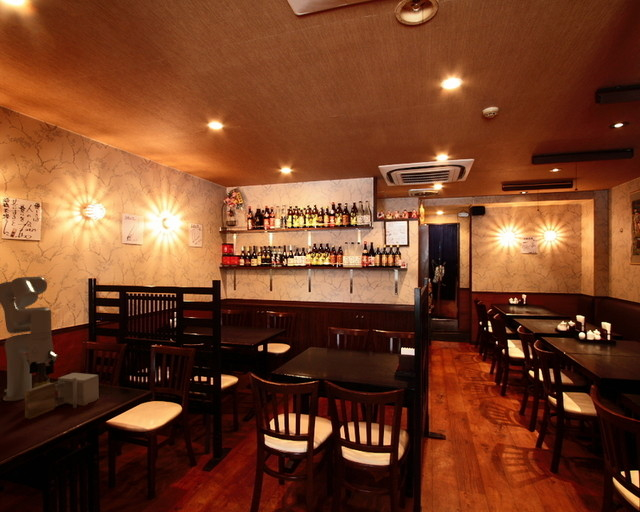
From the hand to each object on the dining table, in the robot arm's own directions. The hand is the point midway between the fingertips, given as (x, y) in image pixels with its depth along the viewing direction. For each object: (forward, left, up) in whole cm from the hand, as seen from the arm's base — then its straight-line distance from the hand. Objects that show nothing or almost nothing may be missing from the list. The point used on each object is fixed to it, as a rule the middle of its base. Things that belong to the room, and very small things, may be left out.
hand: (41, 373), depth 160 cm
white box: (+3, +13, -18) cm, 23 cm away
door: (-1, +2, -18) cm, 18 cm away
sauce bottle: (-13, +9, -18) cm, 24 cm away
